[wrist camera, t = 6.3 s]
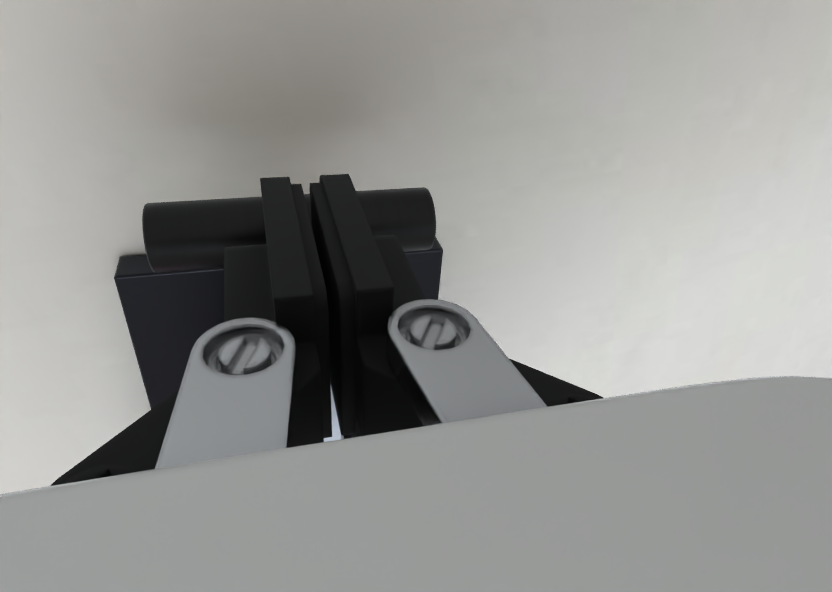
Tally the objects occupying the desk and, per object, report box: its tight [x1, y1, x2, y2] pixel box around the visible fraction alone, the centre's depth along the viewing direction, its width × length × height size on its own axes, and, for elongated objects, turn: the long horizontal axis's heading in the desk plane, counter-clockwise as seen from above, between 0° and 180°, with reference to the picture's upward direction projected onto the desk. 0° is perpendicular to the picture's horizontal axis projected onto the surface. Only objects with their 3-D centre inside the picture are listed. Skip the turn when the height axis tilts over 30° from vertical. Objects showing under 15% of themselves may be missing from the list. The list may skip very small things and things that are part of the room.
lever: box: [142, 188, 436, 442], centre depth 13 cm, size 13×6×2 cm
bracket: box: [114, 237, 443, 439], centre depth 17 cm, size 12×10×13 cm
